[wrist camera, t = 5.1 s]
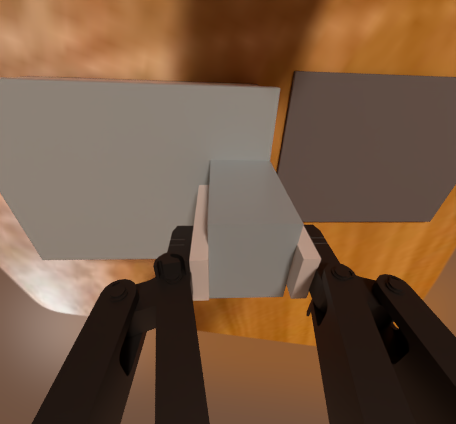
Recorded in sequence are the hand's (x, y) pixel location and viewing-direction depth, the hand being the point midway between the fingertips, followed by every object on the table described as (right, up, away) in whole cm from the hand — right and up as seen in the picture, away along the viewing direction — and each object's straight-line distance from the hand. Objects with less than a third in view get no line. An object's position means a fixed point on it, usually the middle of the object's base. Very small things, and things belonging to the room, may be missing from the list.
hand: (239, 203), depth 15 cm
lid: (-7, +2, +3) cm, 8 cm away
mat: (+14, +5, +8) cm, 17 cm away
